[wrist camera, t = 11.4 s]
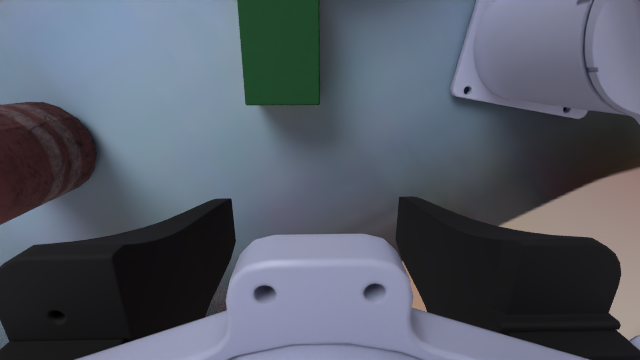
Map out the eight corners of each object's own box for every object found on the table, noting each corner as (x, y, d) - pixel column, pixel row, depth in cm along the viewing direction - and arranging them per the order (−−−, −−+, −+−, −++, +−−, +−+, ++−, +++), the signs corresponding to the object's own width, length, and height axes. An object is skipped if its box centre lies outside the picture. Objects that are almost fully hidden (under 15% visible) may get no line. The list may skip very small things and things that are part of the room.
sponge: (248, -9, 19) (235, -27, 15) (318, -9, 19) (319, -27, 16) (255, 100, 21) (245, 105, 17) (318, 100, 21) (319, 105, 18)
